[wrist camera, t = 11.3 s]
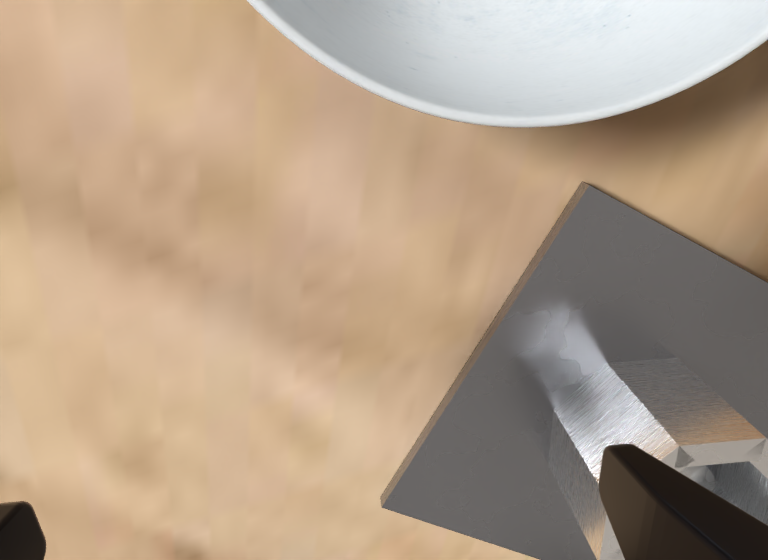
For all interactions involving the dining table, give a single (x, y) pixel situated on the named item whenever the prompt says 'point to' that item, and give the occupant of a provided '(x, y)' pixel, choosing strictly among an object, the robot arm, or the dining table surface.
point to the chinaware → (522, 52)
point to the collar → (653, 439)
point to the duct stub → (578, 370)
